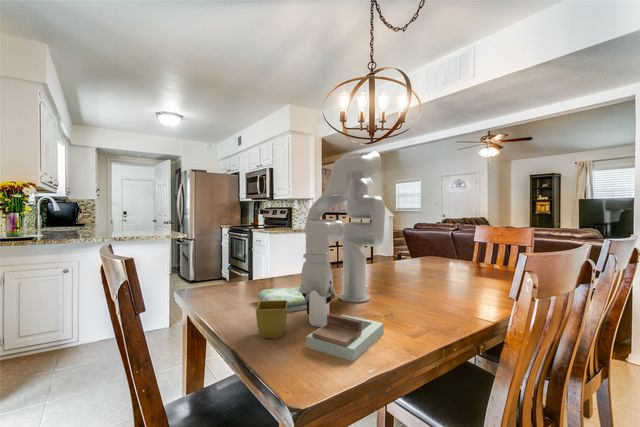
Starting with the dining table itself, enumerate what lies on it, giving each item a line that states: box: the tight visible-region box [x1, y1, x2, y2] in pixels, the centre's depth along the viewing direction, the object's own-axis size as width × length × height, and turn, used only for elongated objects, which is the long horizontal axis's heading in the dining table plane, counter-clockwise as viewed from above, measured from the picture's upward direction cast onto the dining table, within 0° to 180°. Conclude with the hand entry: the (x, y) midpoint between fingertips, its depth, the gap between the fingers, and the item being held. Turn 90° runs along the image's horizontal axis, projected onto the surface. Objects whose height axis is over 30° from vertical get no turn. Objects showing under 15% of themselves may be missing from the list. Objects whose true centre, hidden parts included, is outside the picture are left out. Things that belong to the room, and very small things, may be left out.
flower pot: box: [255, 300, 288, 339], centre depth 88 cm, size 9×9×9 cm
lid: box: [311, 313, 363, 346], centre depth 80 cm, size 9×10×4 cm
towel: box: [257, 286, 307, 314], centre depth 118 cm, size 18×21×5 cm
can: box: [308, 291, 330, 328], centre depth 97 cm, size 6×6×12 cm
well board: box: [306, 314, 385, 362], centre depth 85 cm, size 20×14×3 cm
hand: (317, 314), depth 98 cm, fingers closed on can, 4 cm apart
